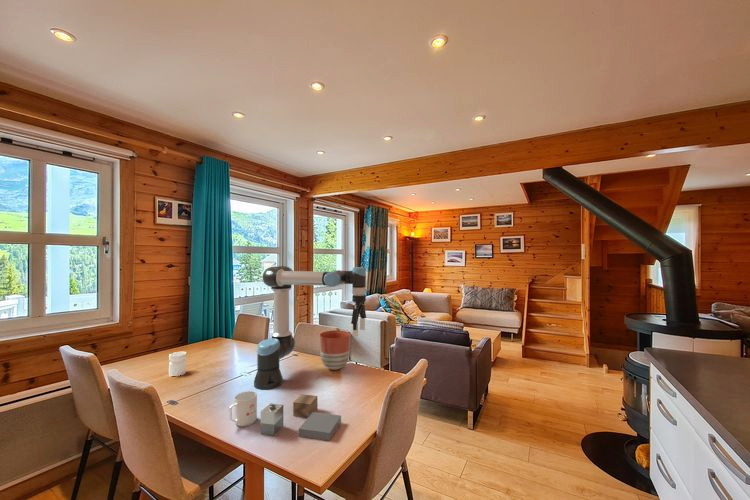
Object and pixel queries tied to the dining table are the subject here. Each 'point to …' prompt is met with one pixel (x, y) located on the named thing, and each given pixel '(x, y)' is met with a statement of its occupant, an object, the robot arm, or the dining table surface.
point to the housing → (271, 419)
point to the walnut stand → (304, 405)
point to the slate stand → (320, 426)
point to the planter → (335, 348)
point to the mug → (244, 408)
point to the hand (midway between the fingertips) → (359, 332)
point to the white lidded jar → (177, 364)
